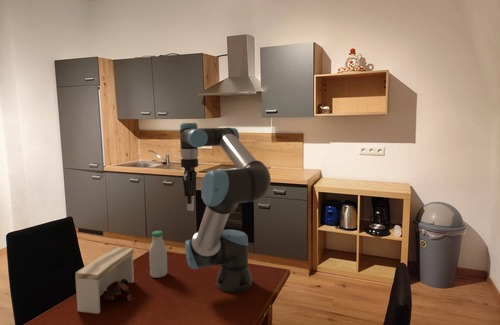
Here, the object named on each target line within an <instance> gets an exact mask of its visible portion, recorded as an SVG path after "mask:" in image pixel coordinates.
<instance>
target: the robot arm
mask: <svg viewBox="0 0 500 325" xmlns="http://www.w3.org/2000/svg"><path fill="white" fill-rule="evenodd" d="M179 136H180V140H179V141H180V150H179V152H180V157H181V159H180V166H181V167H180V168H183V169H184V171H183V175H182V176H181V178H182V182H183V183H182V184H183V191H184V192H183V193H184V197H186V211H188V212H189V211H192V212H193V211H194V210H195V205H194V204H195V198H194V197H195V196H196V195H197V194H196V189H197V186H196V185H197V174H198V172H197V171H196V169H195V168H197V167H198V166H199V159H198V158H199V148H202V147H220V148H221V149H222V150H223V152H224V153H225V154H226V156H227V157H228V159H229V160H230V161H231V162H232V163H233V165H234V166H235V168H217V169H211V170H209V171H207V172H206V173H205V174H204V176H203V178H202V181H201V190H200V192H201V194H200V195H201V199H202V201H203V203H204V205H206V206H205V210H204V213H203V215H202V216H203V217H202V219H201V222H200V224H199V225H200V226H199V229H198V231H197V232H195V233H194V235H193V236H192V237H191V239H187V240H185V241H184V251H185V257H186V262H187V265H188V267H189V268H190V269H192V270H199V269H203V268H207V267H208V268H209V267H214V266H218V265H219V266H220V269H219V271H218V274H217V278H216V287H217V289H219V290H220V291H222V292H227V293H243V292H245V291H248V290H249V289H251V287H253V277H252V275H251V271H250V269H249V238H248V237H249V236H248V235H247V233H245V232H244V231H241V230H237V229H225V226H226V225H227V221H228V219H229V216H230V214H232V213H234V212H235V211H236V210H237V208H238V206H239V204H242V203H251V202H256V201H258V200H261V199H262V198H263V197H264V196H265V195H266V194H267V193H268V191H269V190H270V189H269V188H270V186H271V181H272V178H271V174H270V171H269V170H268V168H267V166H266V165H265V164H264V163H263V162H262V161H260V160H257V159H256V158H255V157H254V156H253V155H252V153H251V152H250V151H249V150H248V149H247V148H246V147H245V145H244V144H243V143H242V142H241V141H240V134H239V130H238V129H237V128H235V127H215V128H214V127H208V128H207V127H205V128H204V127H201V128H199V127H198V124H197V123H196V122H182V123H180V126H179Z"/></svg>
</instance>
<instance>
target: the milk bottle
mask: <svg viewBox="0 0 500 325" xmlns="http://www.w3.org/2000/svg"><path fill="white" fill-rule="evenodd" d="M163 234H164V232H163V231H162V230H155V231H152V233H151V238H152V240H151V242H150V243H151V244H150V245H149V250H148V251H149V253H148V256H149V258H148V259H149V260H148V262H149V264H148V265H149V275H150V277H151V278H154V279H155V278H157V279H158V278H163V277H165V276H167V274H168V254H167V252H168V251H167V250H168V249H167V247H166V246H167V245H166V244H165V242H164V240H163Z"/></svg>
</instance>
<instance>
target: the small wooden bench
mask: <svg viewBox="0 0 500 325" xmlns="http://www.w3.org/2000/svg"><path fill="white" fill-rule="evenodd" d="M134 252H135V251H134V248H131V247H130V248H129V247H118V246H116V247H113V248H110V249H109V250H108V251H107V252H105V253H103V254H102V255H100V256H99V257H97V258H96V259H94V260H93V261H92V262H90V263H88V264H87V265H85V266H83V267H82V268H80V269H78V270H77V271H76V272H74V273H75V274H74V275H75V278H74V279H75V290H76V292H75V293H76V306H77V307H76V308H77V312H80V313H91V314H97V315H98V314H100V313H101V299H100V297H101V296H102V295H103V292H104V291H105V290H106V291H107V289H106V288H107V287H108V286H109V285H110V284H111V283H113V282H115V281H119V282H120V281H121V280H123V279H126V280H127V281H128V284H130V283H131V284H133V283H134V282H135V278H134V276H135V273H134Z"/></svg>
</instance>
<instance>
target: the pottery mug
mask: <svg viewBox="0 0 500 325" xmlns="http://www.w3.org/2000/svg"><path fill="white" fill-rule="evenodd" d="M115 286H116V287H115ZM112 288H113V289H112ZM106 289H107V291H106V290H105V291H104V292H103V294H102V295H103V296H104V300H105V301H109V300H112V301H114V300H115V295H116V296H119V295H122V293H124V294H126V293H127V296H126V299H127V301H128V302H130V301H131V300H132V298H133V295H132V293H131V292H130V288H129V283H128V281H127V280H126V279H123V280H121V281H120V282H119V281H115V282H113V283H111V284H110V285H109V286H108V287H107V288H106ZM111 289H112V290H111ZM110 290H111V291H110ZM109 291H110V292H109Z"/></svg>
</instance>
